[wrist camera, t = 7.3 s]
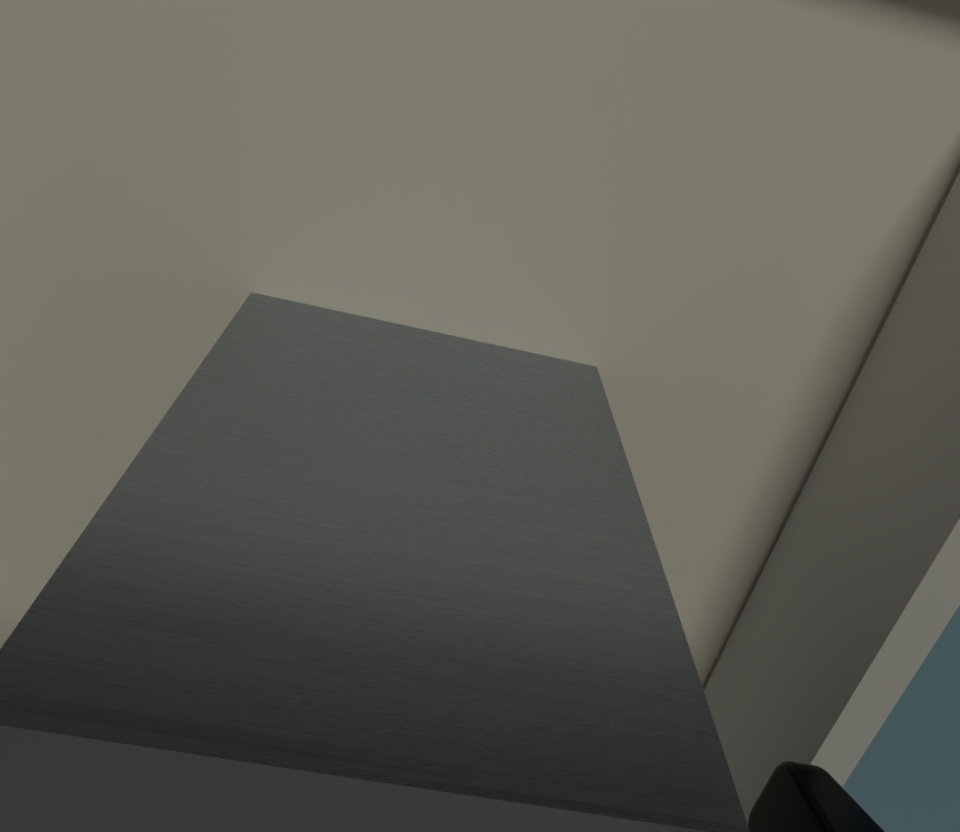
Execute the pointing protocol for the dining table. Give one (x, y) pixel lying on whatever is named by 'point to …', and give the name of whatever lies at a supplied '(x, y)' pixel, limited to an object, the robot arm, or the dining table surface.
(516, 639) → the steel block
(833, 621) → the vise free jaw
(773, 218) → the vise bed
